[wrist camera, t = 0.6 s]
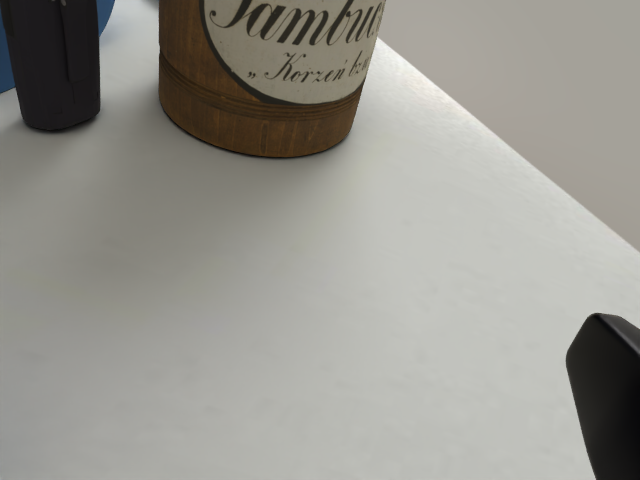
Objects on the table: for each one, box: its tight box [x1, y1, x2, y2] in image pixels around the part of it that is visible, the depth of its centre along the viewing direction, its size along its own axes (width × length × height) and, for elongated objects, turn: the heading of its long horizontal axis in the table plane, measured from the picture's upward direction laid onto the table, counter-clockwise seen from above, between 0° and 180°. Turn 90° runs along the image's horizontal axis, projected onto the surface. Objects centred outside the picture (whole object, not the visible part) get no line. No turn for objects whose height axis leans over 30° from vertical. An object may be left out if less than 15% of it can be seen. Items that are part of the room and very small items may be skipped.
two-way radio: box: [0, 0, 100, 130], centre depth 32 cm, size 6×4×15 cm
